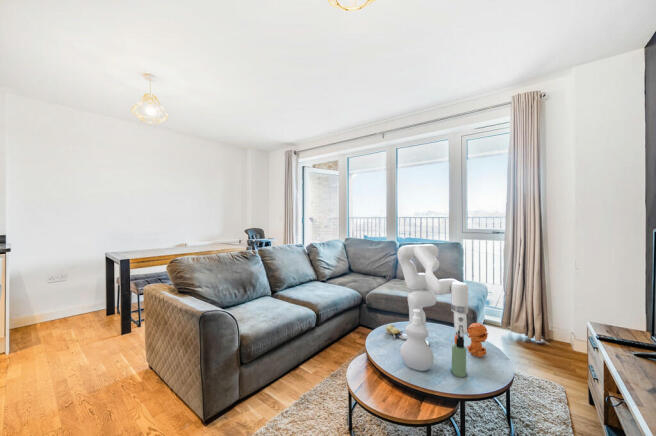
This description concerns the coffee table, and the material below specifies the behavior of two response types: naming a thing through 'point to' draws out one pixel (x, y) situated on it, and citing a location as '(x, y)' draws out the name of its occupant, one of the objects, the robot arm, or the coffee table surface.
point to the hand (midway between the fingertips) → (459, 344)
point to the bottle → (458, 361)
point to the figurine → (394, 331)
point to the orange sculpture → (477, 339)
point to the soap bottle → (416, 346)
